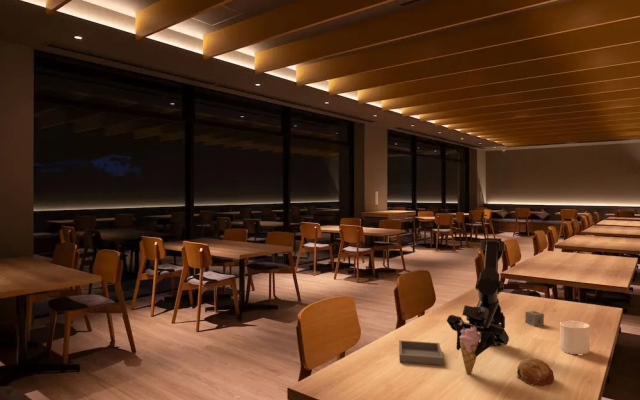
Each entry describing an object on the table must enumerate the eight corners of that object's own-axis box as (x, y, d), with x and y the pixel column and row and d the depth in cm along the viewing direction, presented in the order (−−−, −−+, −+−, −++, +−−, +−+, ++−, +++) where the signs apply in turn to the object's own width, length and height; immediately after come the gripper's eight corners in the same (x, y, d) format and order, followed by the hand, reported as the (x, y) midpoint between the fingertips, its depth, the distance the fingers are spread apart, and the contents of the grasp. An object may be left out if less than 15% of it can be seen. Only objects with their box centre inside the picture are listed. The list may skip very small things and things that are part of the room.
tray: (438, 350, 154) (439, 343, 154) (443, 365, 140) (443, 358, 140) (399, 347, 156) (399, 340, 156) (399, 362, 142) (399, 354, 142)
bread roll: (515, 384, 136) (505, 361, 135) (544, 369, 136) (534, 347, 136) (534, 399, 126) (523, 374, 125) (564, 383, 126) (554, 359, 126)
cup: (586, 347, 158) (586, 321, 158) (593, 357, 148) (594, 329, 148) (556, 344, 161) (557, 318, 161) (562, 354, 151) (562, 326, 151)
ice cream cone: (480, 379, 130) (482, 330, 130) (459, 377, 131) (460, 328, 131) (477, 370, 137) (478, 323, 136) (456, 368, 138) (458, 321, 137)
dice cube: (543, 325, 184) (543, 313, 184) (534, 326, 182) (535, 315, 182) (534, 322, 189) (534, 310, 189) (525, 323, 187) (525, 311, 187)
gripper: (450, 290, 143) (430, 330, 136) (505, 301, 129) (486, 346, 122) (462, 309, 148) (443, 349, 141) (516, 322, 134) (499, 367, 127)
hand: (466, 352), depth 133 cm, fingers closed on ice cream cone, 6 cm apart
